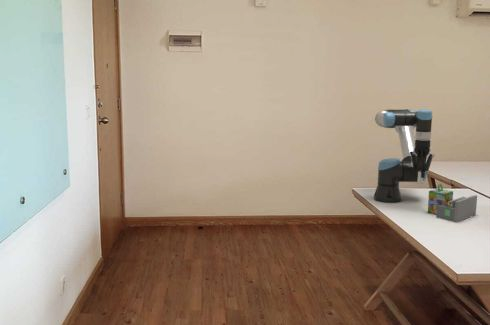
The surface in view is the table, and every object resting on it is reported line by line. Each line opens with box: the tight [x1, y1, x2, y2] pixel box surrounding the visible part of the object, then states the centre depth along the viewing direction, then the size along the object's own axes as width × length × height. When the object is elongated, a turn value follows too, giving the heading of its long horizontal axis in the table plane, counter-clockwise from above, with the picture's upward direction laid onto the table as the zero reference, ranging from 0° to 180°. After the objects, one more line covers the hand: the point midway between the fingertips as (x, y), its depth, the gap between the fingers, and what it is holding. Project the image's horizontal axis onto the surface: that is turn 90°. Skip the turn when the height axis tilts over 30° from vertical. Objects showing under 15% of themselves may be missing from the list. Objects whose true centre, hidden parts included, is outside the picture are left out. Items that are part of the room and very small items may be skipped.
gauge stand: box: [435, 194, 478, 223], centre depth 230 cm, size 11×20×10 cm, turn 128°
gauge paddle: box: [448, 196, 467, 208], centre depth 229 cm, size 1×16×8 cm, turn 128°
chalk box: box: [427, 183, 454, 215], centre depth 236 cm, size 9×9×15 cm
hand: (420, 183), depth 245 cm, fingers closed
